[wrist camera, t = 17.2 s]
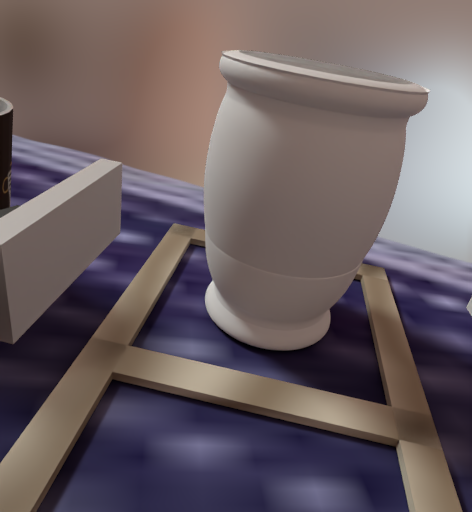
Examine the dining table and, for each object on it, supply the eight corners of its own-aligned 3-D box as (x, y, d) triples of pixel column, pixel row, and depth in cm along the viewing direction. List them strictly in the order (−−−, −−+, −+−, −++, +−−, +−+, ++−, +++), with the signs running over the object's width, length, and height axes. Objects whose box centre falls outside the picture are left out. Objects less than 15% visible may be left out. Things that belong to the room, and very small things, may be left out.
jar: (208, 256, 33) (238, 45, 26) (339, 285, 32) (408, 76, 25) (167, 343, 24) (197, 50, 16) (349, 386, 23) (464, 99, 16)
